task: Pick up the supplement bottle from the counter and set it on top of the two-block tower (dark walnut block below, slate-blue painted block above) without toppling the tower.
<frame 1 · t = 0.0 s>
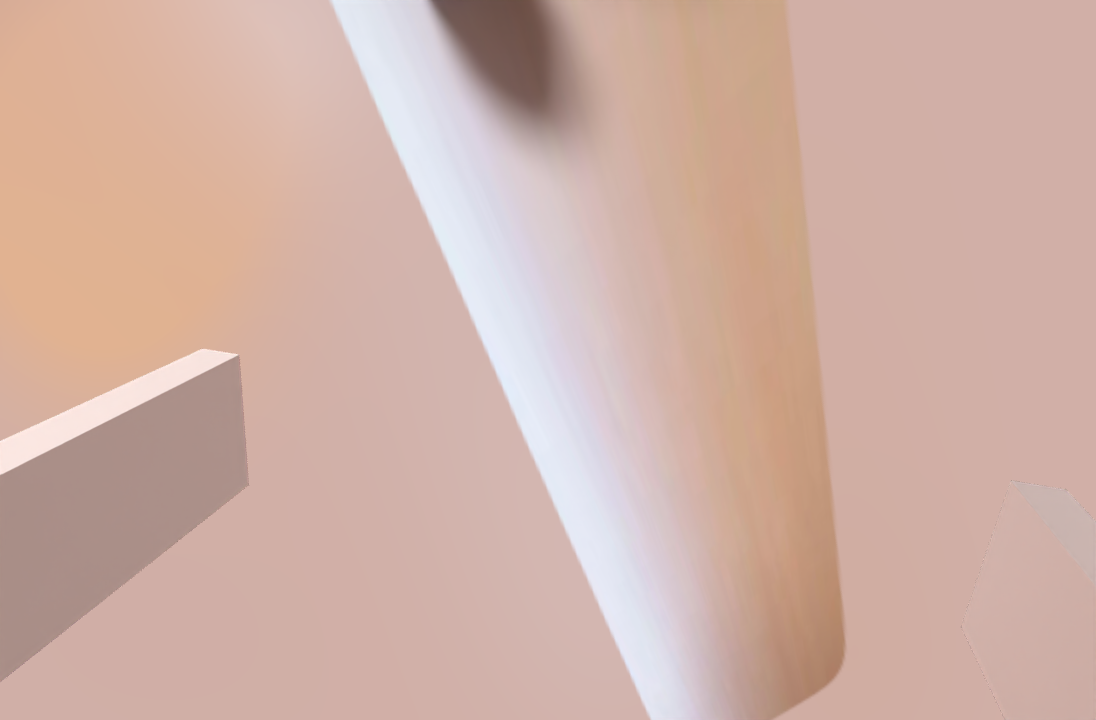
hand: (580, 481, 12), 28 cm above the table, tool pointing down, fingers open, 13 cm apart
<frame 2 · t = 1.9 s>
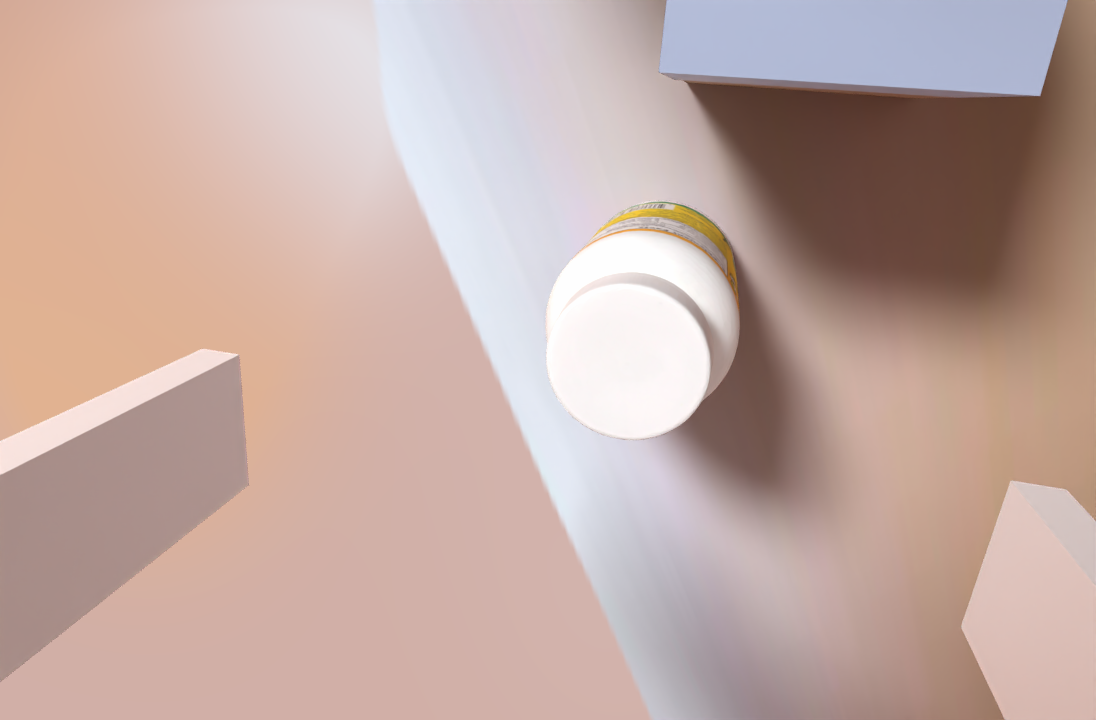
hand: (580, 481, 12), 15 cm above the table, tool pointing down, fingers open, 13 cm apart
supplement bottle: (660, 273, 26), on the table
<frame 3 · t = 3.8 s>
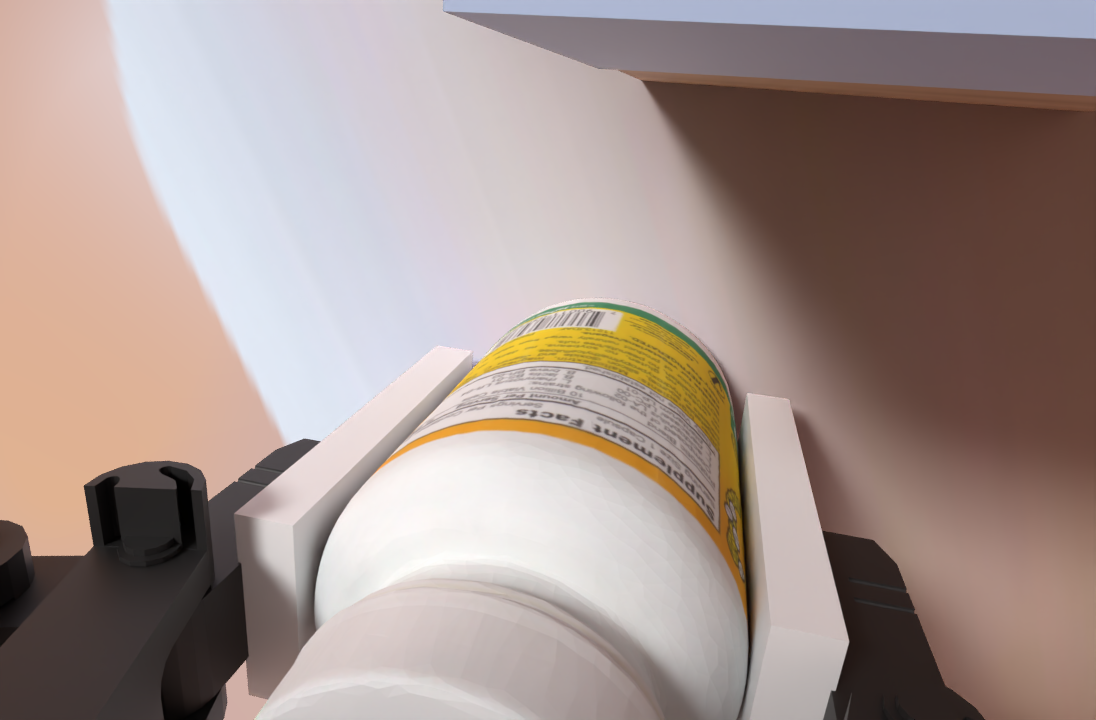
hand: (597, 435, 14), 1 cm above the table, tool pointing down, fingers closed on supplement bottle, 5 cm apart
supplement bottle: (604, 415, 15), on the table, touching gripper
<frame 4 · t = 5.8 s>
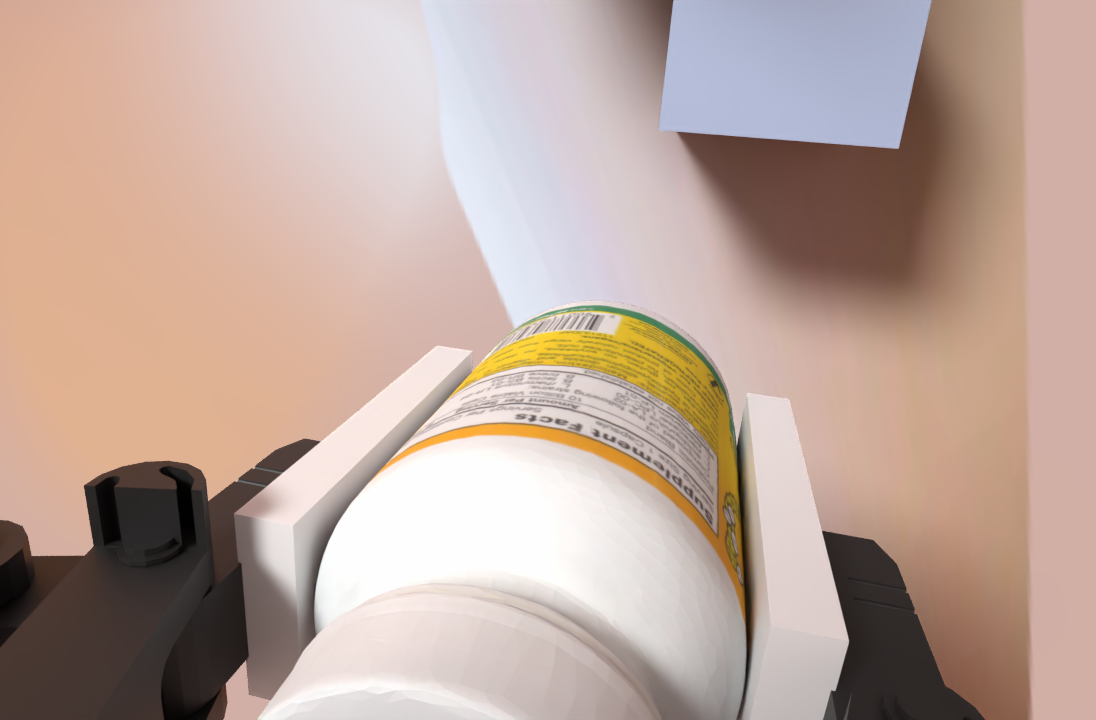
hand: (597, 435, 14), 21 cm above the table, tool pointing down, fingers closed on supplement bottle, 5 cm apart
supplement bottle: (604, 417, 15), point 19 cm above the table, touching gripper
slate block: (781, 31, 25), point 5 cm above the table, touching walnut block
when the fingers open (12 cm above the table, at t = 8.2 s): supplement bottle drops 2 cm, resting on slate block.
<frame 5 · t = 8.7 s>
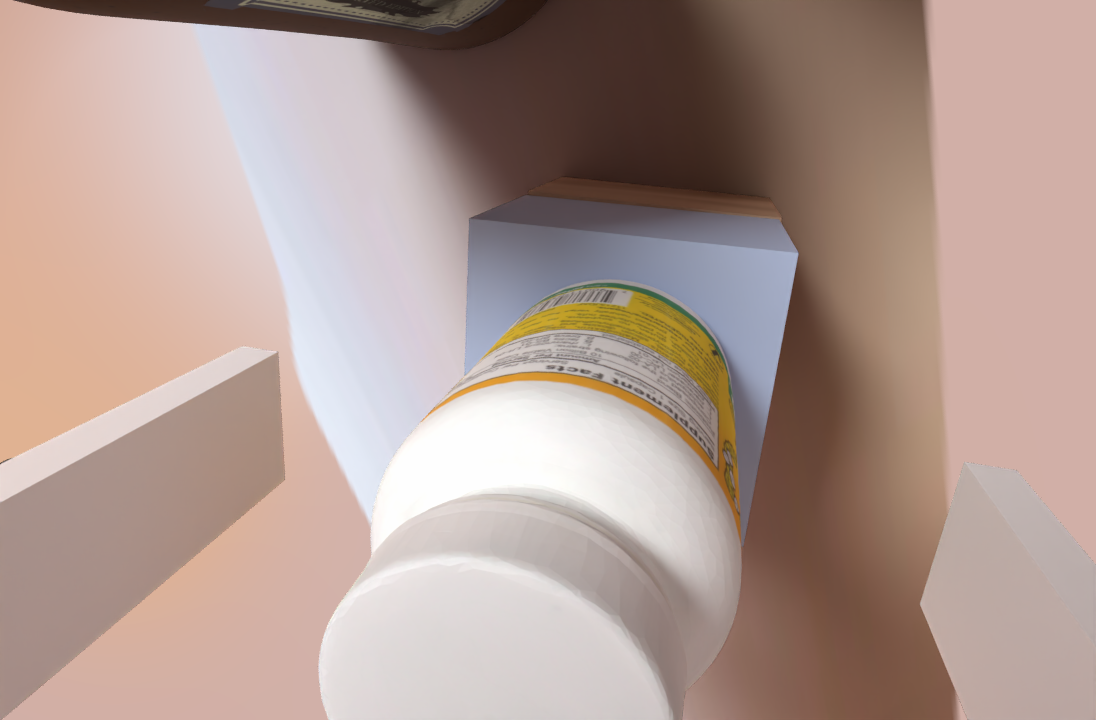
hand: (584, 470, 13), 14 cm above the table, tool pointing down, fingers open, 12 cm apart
walnut block: (650, 286, 26), on the table, touching slate block
supplement bottle: (614, 387, 17), point 10 cm above the table, touching slate block
slate block: (634, 327, 21), point 5 cm above the table, touching supplement bottle, walnut block
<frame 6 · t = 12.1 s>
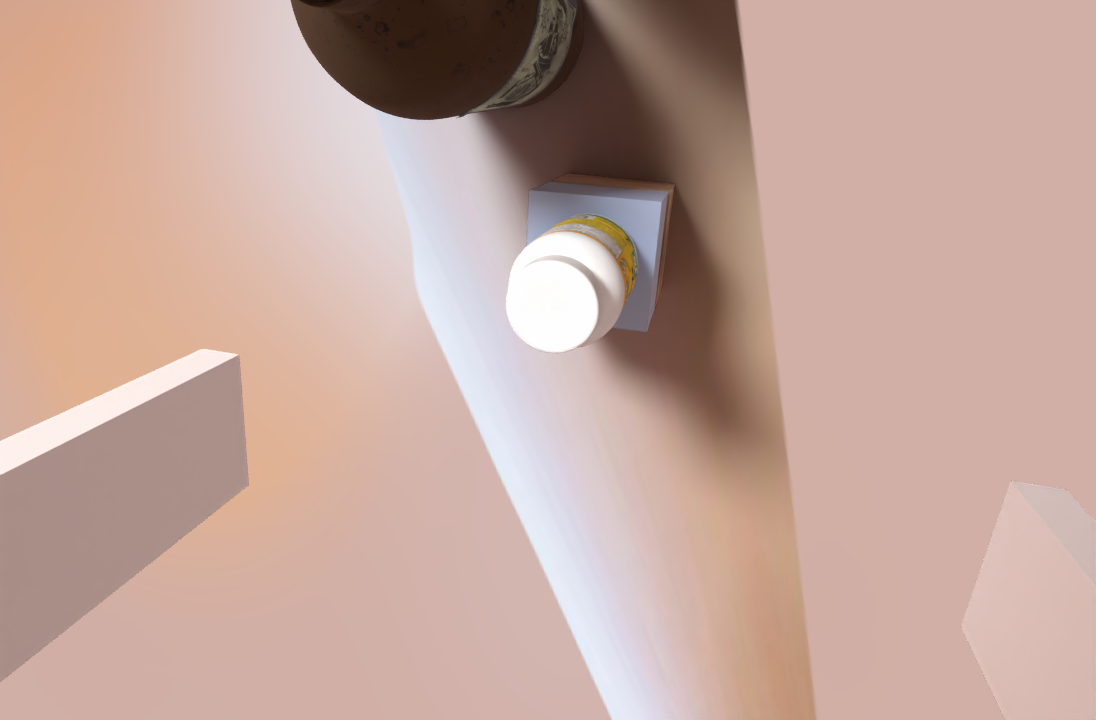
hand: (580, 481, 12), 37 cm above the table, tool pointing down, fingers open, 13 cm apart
walnut block: (615, 232, 48), on the table, touching slate block
supplement bottle: (590, 262, 39), point 10 cm above the table, touching slate block
slate block: (602, 246, 43), point 5 cm above the table, touching supplement bottle, walnut block
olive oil: (512, 30, 45), on the table
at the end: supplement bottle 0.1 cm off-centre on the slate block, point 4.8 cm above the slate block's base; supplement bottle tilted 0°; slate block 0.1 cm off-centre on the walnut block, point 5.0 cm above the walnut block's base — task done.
